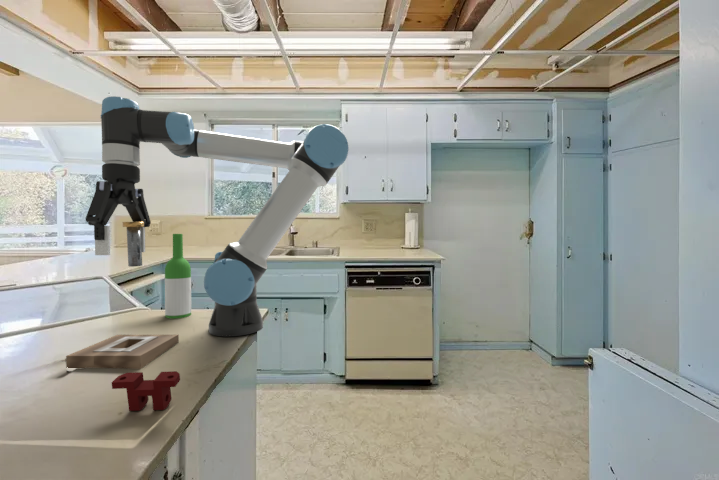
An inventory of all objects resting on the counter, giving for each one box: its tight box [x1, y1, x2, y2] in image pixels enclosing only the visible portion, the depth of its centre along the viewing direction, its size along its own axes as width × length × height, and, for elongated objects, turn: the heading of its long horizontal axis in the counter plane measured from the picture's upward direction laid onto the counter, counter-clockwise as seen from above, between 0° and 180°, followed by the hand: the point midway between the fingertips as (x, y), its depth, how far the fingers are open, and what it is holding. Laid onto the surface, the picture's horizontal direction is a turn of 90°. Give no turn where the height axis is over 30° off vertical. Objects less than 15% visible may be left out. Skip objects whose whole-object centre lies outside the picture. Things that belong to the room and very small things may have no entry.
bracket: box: [110, 370, 181, 412], centre depth 59 cm, size 3×6×10 cm
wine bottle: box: [164, 233, 192, 319], centre depth 116 cm, size 8×8×30 cm
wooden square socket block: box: [65, 333, 180, 370], centre depth 83 cm, size 16×16×4 cm
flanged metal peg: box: [122, 221, 144, 268], centre depth 89 cm, size 5×5×11 cm
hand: (122, 253), depth 84 cm, fingers open, 13 cm apart
